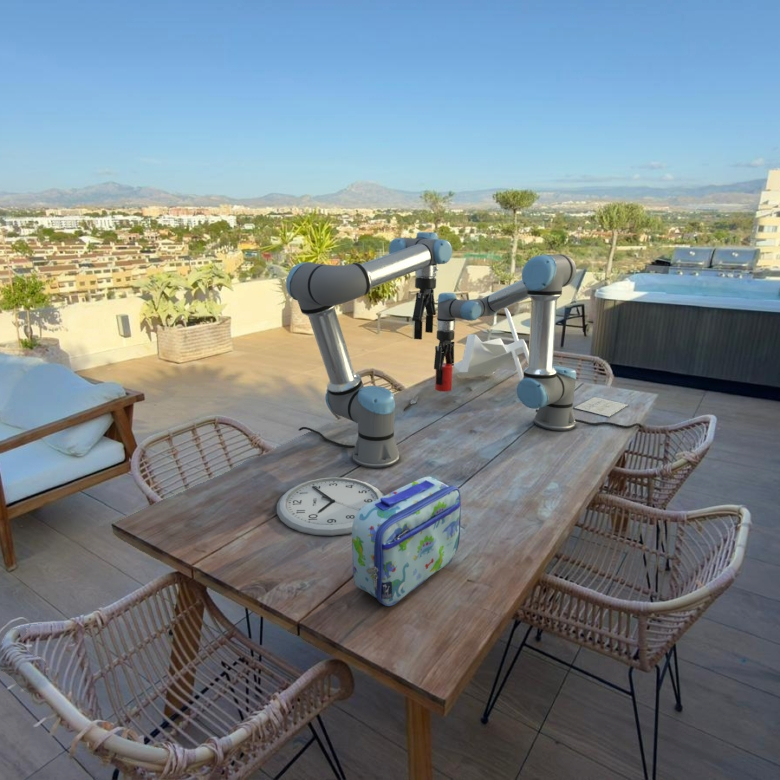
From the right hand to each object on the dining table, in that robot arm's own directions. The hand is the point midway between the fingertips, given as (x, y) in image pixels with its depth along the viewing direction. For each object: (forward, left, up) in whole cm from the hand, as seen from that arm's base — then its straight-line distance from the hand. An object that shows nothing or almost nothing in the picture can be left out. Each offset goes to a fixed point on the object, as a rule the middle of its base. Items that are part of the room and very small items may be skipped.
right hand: (443, 382), depth 227 cm
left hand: (+8, +29, +26) cm, 40 cm away
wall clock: (+28, +95, -9) cm, 99 cm away
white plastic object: (-23, -29, -9) cm, 38 cm away
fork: (+14, +9, -9) cm, 19 cm away
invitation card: (-68, -4, -9) cm, 69 cm away
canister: (0, 0, -3) cm, 3 cm away
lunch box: (+5, +123, -9) cm, 123 cm away
